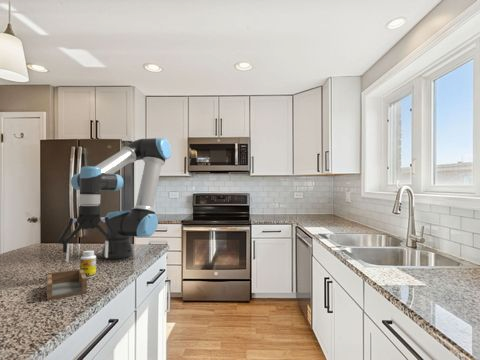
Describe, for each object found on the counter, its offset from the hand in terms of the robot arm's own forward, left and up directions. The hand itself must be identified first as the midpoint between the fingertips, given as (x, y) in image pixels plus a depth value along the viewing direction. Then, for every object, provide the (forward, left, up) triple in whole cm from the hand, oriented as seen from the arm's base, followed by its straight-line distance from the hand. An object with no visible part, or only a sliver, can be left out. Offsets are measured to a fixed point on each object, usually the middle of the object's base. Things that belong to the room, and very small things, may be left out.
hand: (87, 259), depth 110 cm
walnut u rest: (+8, +12, -7) cm, 16 cm away
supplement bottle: (0, 0, -7) cm, 7 cm away
